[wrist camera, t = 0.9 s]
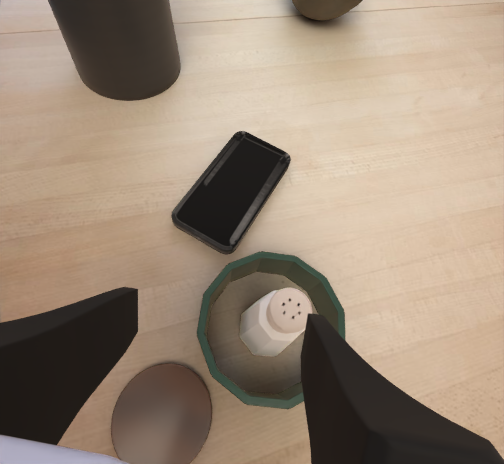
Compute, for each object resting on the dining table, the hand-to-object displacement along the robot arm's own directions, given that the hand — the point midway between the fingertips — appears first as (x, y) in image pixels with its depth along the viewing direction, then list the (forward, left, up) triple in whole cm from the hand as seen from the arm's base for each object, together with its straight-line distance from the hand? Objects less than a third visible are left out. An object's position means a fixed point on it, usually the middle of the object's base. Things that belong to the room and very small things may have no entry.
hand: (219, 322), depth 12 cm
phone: (+17, +1, -17) cm, 24 cm away
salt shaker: (+2, -4, -17) cm, 17 cm away
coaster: (-6, +4, -17) cm, 18 cm away
